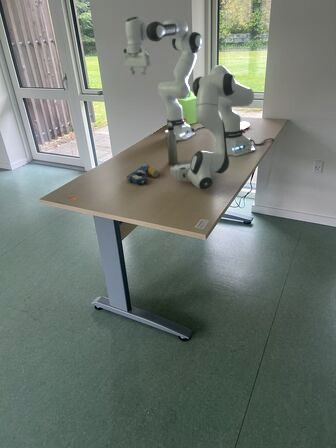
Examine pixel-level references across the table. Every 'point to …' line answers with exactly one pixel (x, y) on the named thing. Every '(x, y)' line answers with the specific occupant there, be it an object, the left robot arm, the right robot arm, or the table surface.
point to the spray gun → (142, 174)
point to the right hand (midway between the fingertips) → (184, 164)
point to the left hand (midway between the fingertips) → (138, 74)
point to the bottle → (172, 147)
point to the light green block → (189, 108)
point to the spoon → (244, 125)
